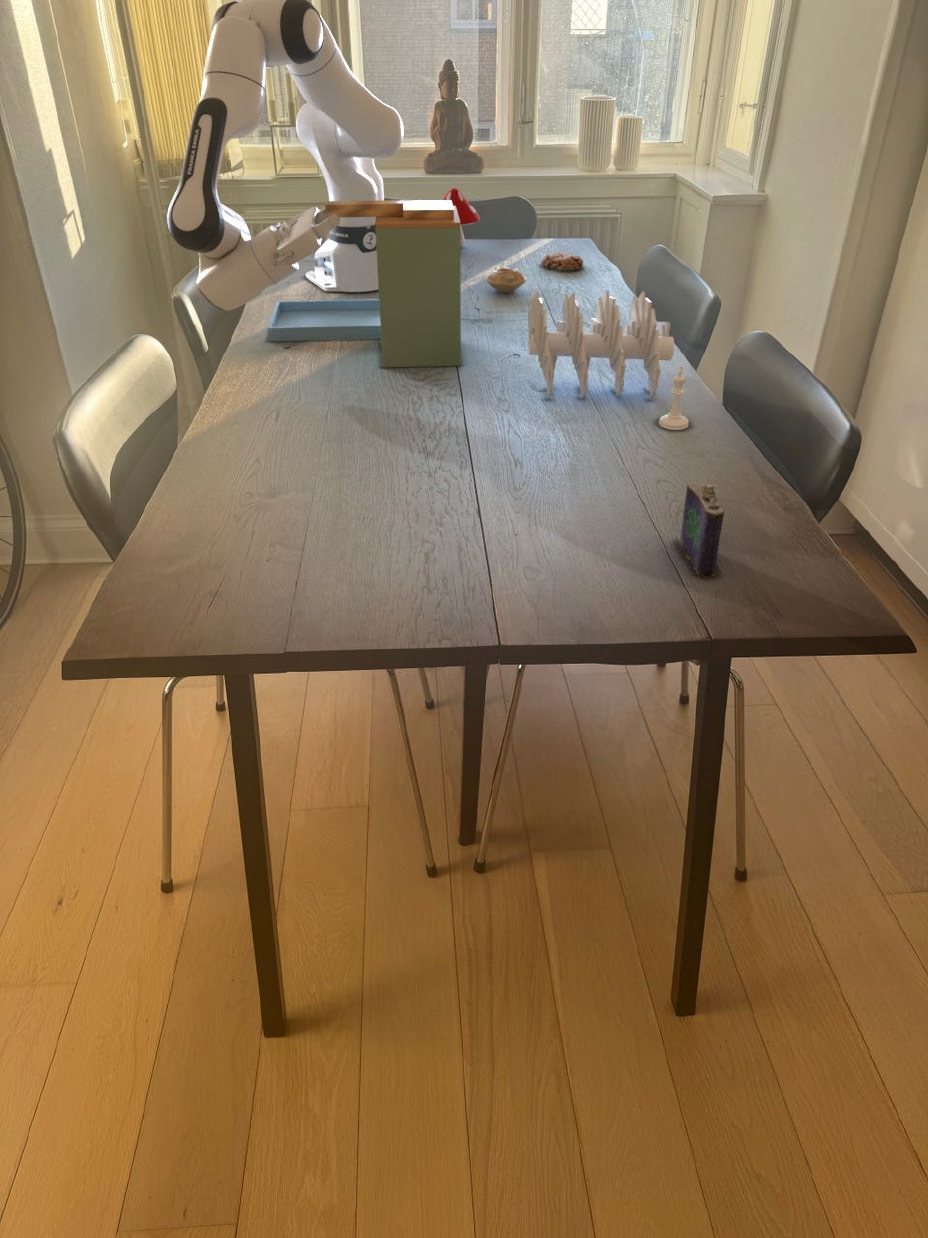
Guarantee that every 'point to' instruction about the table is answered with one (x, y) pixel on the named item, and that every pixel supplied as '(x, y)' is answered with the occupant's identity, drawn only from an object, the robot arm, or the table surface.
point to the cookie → (562, 261)
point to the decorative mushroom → (462, 210)
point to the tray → (325, 320)
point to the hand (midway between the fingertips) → (339, 211)
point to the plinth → (419, 291)
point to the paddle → (392, 209)
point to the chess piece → (675, 407)
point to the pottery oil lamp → (505, 279)
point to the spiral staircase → (600, 339)
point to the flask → (701, 527)
